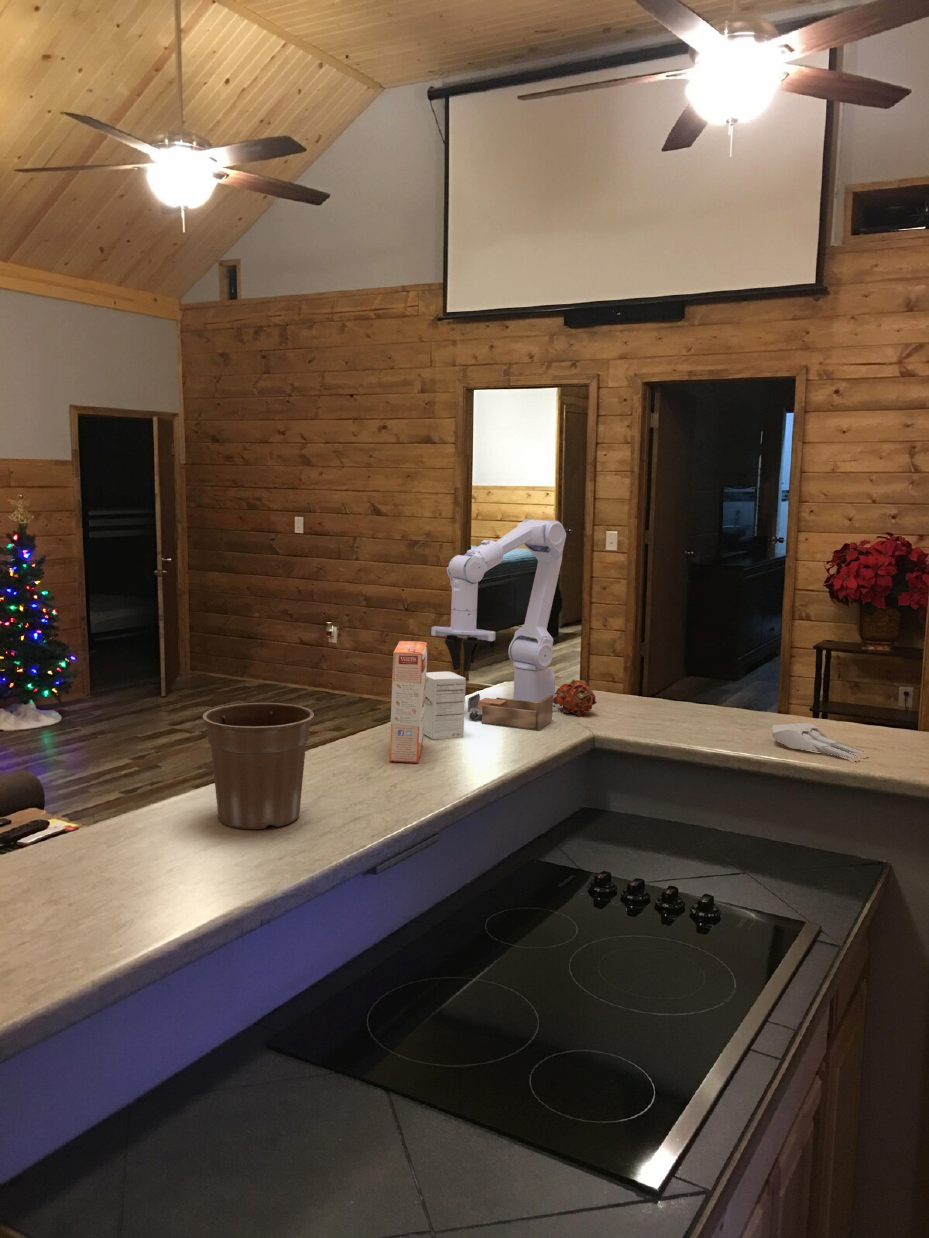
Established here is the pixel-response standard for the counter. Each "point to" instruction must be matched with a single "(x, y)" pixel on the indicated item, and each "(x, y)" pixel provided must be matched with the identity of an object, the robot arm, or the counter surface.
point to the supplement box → (444, 705)
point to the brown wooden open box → (520, 714)
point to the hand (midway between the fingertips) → (461, 670)
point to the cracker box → (408, 701)
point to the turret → (810, 739)
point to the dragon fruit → (575, 697)
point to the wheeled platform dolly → (477, 704)
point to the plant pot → (258, 762)
